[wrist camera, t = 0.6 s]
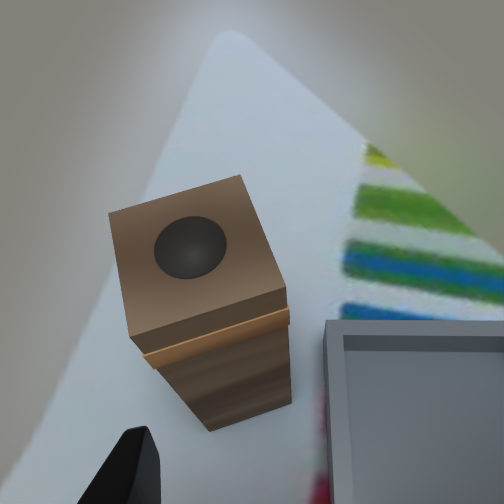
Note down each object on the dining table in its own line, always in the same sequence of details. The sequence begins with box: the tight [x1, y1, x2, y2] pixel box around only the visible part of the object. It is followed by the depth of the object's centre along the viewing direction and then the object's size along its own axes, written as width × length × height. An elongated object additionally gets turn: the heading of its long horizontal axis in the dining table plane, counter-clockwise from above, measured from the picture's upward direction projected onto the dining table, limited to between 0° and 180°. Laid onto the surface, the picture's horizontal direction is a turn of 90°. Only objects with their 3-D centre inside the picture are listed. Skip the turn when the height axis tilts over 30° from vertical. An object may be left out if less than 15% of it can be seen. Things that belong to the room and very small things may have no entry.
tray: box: [323, 320, 504, 504], centre depth 21 cm, size 10×10×3 cm
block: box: [109, 175, 292, 432], centre depth 19 cm, size 5×5×13 cm
